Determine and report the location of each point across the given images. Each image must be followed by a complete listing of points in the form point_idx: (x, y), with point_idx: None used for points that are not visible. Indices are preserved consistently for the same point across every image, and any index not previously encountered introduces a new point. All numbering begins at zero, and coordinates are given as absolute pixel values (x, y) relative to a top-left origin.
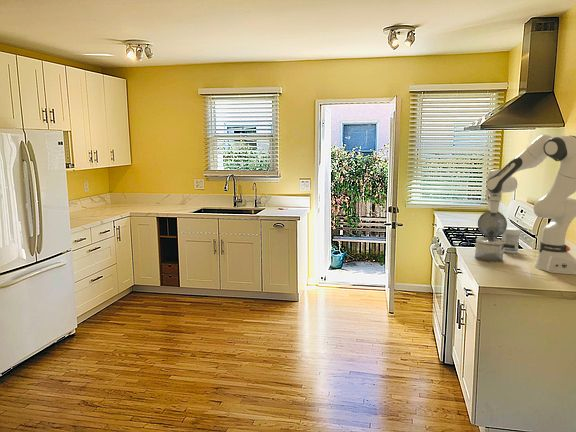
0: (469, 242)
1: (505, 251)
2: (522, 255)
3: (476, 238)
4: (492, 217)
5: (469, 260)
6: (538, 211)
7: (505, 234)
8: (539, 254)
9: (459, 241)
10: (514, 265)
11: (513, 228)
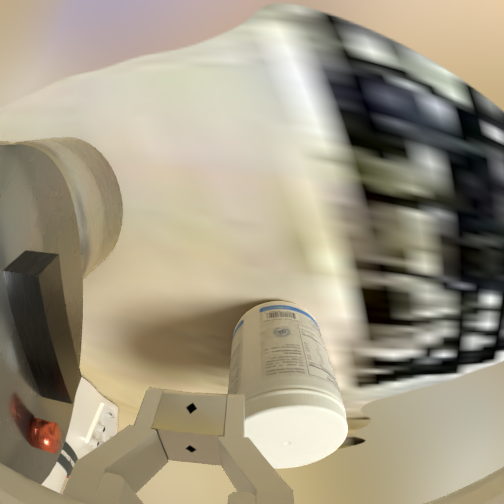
0: (446, 146)
1: (241, 317)
2: (213, 372)
3: (3, 144)
4: None
5: (12, 120)
6: None
7: (245, 384)
8: None
9: (451, 91)
10: None
11: (295, 451)
